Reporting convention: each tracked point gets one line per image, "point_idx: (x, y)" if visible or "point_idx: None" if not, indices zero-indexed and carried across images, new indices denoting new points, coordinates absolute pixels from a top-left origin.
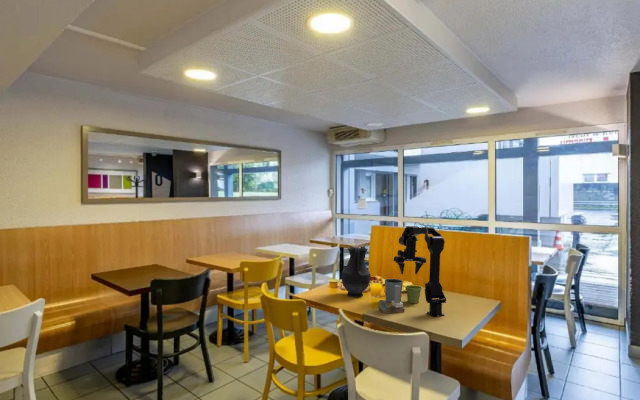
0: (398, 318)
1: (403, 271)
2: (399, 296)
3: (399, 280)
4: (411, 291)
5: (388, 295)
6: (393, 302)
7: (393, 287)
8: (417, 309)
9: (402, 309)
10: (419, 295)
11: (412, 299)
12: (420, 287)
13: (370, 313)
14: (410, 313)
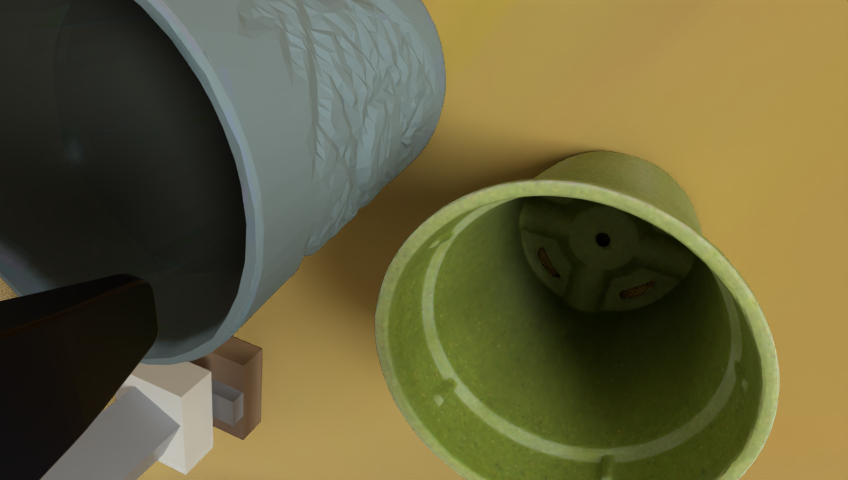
0: (154, 475)
1: (55, 461)
2: None
3: (242, 158)
4: (446, 381)
5: (181, 119)
6: (119, 397)
7: (112, 252)
8: (424, 447)
9: (225, 429)
10: (637, 388)
11: (518, 307)
12: (734, 445)
13: (6, 296)
14: (289, 469)
